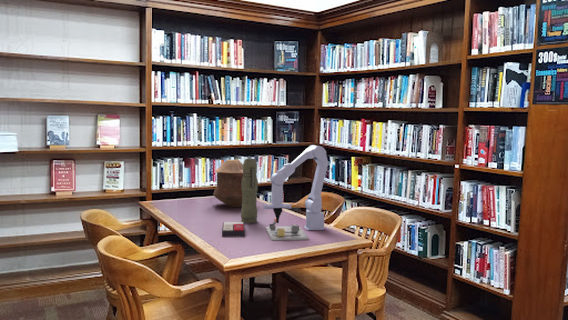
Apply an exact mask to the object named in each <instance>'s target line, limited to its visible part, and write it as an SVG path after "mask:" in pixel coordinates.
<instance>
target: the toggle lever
mask: <svg viewBox="0 0 568 320" xmlns="http://www.w3.org/2000/svg"><path fill="white" fill-rule="evenodd" d="M276 222H277V219H276V218H274V220H273V223H271V224H272V226H276V224H277V223H276Z"/></svg>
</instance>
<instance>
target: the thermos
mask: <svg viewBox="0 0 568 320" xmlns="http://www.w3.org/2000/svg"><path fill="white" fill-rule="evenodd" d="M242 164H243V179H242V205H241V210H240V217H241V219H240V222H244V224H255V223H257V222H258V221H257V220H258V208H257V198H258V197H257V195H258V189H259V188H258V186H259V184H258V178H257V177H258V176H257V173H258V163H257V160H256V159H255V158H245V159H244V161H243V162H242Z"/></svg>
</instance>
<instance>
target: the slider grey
mask: <svg viewBox="0 0 568 320" xmlns="http://www.w3.org/2000/svg"><path fill="white" fill-rule="evenodd" d="M290 226H291V231H292V232H298V226H299V225H298V224H297V225H295V224H291V225H290Z"/></svg>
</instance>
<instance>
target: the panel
mask: <svg viewBox="0 0 568 320" xmlns="http://www.w3.org/2000/svg"><path fill="white" fill-rule="evenodd" d="M272 224H273V223H269V226H265V231H266V232H267V234H268V237H269V238H270V240H271V241H306V240H307V241H308V240H309V236H308V234H306V232H305V230H303V229H302V228H301V226H300V225H298V224H294V225H298V232H292V231H291V225H290V226H287V225H284V226H283V225H282V226H281V225H279V226H276V225H275V226H272ZM280 228H284V230H285V236H278V235H277V233H278V229H280Z"/></svg>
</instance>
